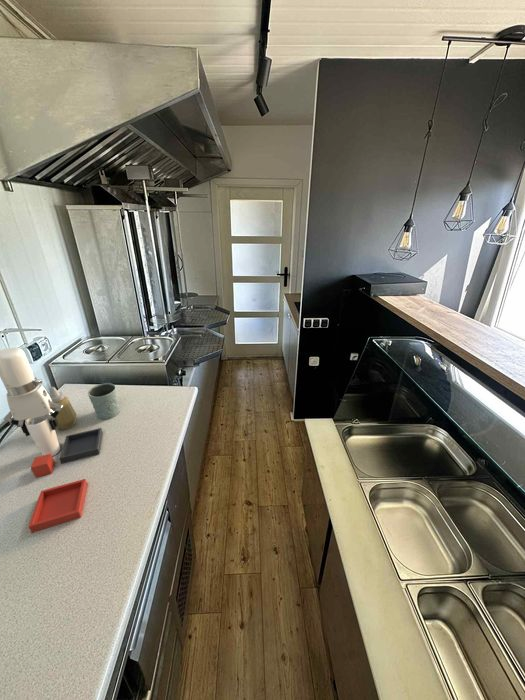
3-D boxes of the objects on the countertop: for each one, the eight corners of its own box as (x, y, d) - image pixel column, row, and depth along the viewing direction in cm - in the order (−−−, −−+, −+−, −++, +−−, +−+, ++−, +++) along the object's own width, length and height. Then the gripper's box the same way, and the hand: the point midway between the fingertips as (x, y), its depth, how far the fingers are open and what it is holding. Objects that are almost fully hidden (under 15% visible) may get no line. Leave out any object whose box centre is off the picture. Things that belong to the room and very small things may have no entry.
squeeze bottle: (53, 424, 114) (37, 387, 107) (76, 416, 119) (62, 379, 111) (57, 435, 109) (40, 396, 101) (81, 425, 114) (67, 387, 106)
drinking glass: (39, 451, 102) (23, 418, 95) (61, 442, 106) (48, 409, 99) (41, 462, 97) (25, 428, 90) (64, 453, 101) (50, 419, 94)
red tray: (31, 533, 76) (28, 527, 75) (43, 496, 85) (41, 490, 84) (81, 517, 79) (78, 511, 78) (87, 484, 89) (85, 478, 88)
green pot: (98, 408, 124) (91, 384, 119) (124, 404, 126) (117, 381, 121) (93, 423, 115) (84, 398, 110) (120, 418, 117) (113, 394, 112)
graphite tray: (61, 463, 97) (58, 458, 95) (68, 440, 106) (66, 435, 105) (99, 454, 100) (97, 448, 99) (103, 432, 110) (101, 427, 109)
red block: (35, 477, 92) (30, 467, 90) (39, 467, 95) (34, 457, 93) (51, 473, 93) (47, 463, 91) (55, 463, 97) (50, 453, 95)
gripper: (57, 375, 95) (73, 417, 103) (-7, 386, 89) (15, 430, 97) (51, 386, 89) (69, 430, 97) (-18, 399, 83) (7, 445, 91)
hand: (42, 430), depth 97 cm, fingers closed on drinking glass, 6 cm apart
